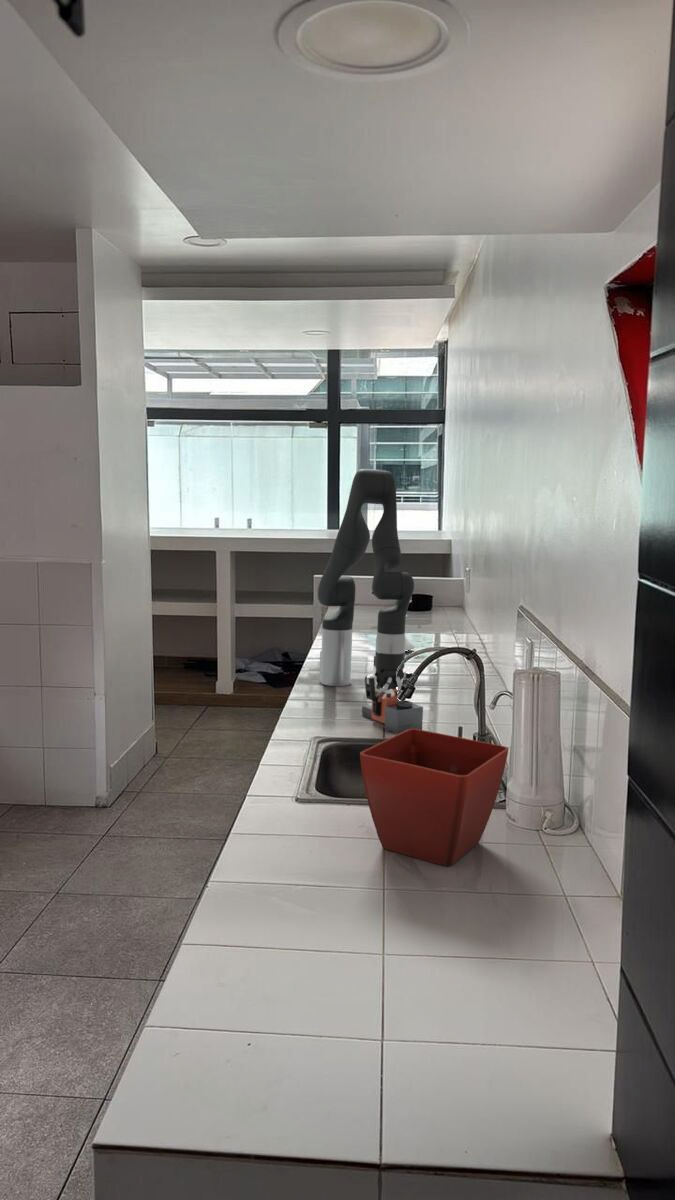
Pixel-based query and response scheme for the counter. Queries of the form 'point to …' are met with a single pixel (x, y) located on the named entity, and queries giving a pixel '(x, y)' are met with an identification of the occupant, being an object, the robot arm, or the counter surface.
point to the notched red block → (386, 701)
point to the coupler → (399, 716)
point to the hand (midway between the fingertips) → (387, 713)
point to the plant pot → (431, 792)
